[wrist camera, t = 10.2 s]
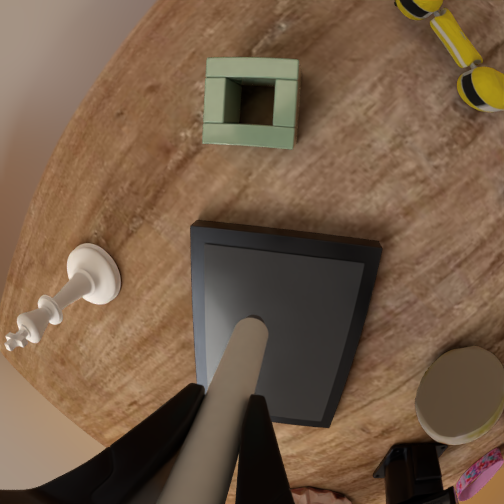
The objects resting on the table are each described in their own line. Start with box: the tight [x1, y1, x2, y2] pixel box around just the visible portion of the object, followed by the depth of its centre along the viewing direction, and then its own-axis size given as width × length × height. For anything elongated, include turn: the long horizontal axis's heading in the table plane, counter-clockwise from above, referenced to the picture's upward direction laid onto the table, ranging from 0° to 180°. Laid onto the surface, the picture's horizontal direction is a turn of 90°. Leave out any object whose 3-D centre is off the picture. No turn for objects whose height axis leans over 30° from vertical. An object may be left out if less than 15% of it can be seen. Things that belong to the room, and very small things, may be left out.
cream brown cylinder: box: [415, 346, 504, 445], centre depth 18 cm, size 8×10×10 cm
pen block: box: [202, 57, 301, 150], centre depth 15 cm, size 4×4×4 cm
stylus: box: [156, 315, 268, 504], centre depth 8 cm, size 1×1×12 cm
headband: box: [456, 448, 504, 501], centre depth 25 cm, size 11×4×2 cm, turn 3°
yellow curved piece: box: [394, 0, 504, 112], centre depth 11 cm, size 10×6×4 cm, turn 38°
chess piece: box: [5, 243, 121, 351], centre depth 18 cm, size 5×5×10 cm
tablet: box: [190, 220, 382, 428], centre depth 21 cm, size 16×11×1 cm
